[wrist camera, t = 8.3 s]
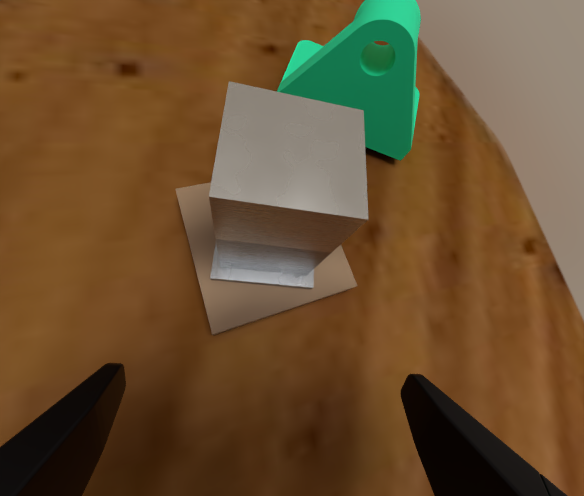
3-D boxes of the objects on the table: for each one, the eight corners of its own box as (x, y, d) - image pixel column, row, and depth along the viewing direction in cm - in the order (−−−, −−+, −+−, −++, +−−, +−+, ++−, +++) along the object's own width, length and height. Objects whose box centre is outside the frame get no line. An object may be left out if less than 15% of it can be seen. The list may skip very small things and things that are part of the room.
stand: (348, 289, 21) (357, 285, 19) (214, 335, 18) (212, 334, 16) (304, 175, 23) (308, 164, 22) (179, 199, 20) (175, 188, 19)
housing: (311, 289, 18) (382, 240, 10) (210, 280, 17) (188, 215, 9) (313, 203, 21) (374, 99, 12) (224, 189, 20) (218, 64, 11)
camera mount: (404, 109, 28) (491, -9, 19) (394, 167, 26) (490, 63, 16) (294, 63, 27) (328, -86, 18) (271, 119, 24) (295, -23, 15)
